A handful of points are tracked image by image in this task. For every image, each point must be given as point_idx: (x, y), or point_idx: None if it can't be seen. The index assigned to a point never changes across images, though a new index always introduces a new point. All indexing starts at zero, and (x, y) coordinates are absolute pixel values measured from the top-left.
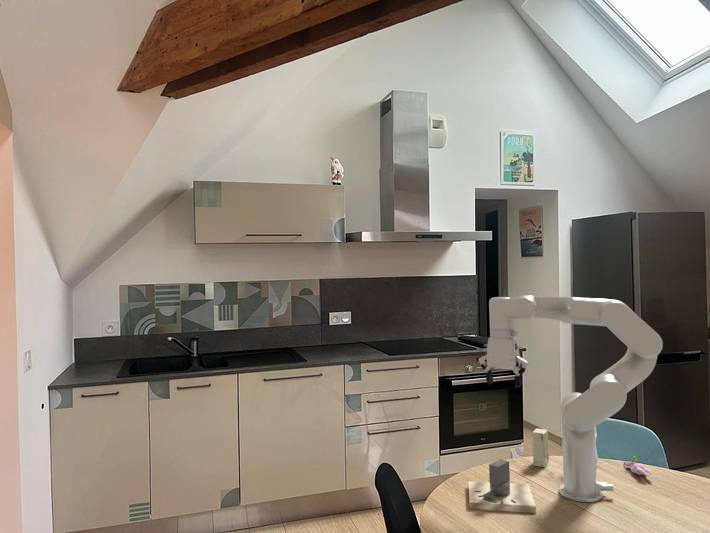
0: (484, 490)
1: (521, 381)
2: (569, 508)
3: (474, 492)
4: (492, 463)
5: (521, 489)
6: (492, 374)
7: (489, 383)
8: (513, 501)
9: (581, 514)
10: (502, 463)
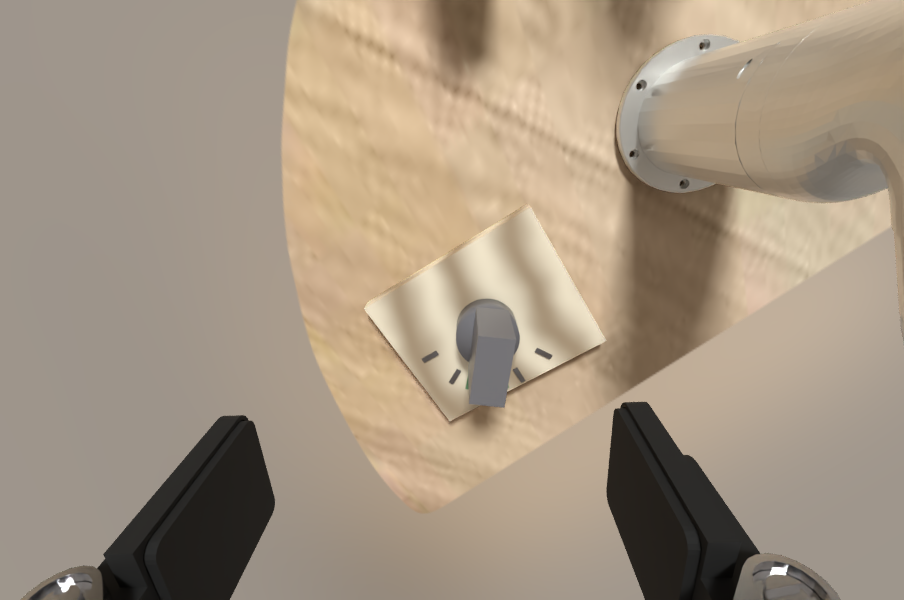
0: (440, 337)
1: (708, 479)
2: (675, 249)
3: (425, 365)
4: (474, 390)
5: (528, 263)
6: (183, 524)
7: (270, 512)
8: (545, 356)
9: (713, 265)
10: (504, 370)
